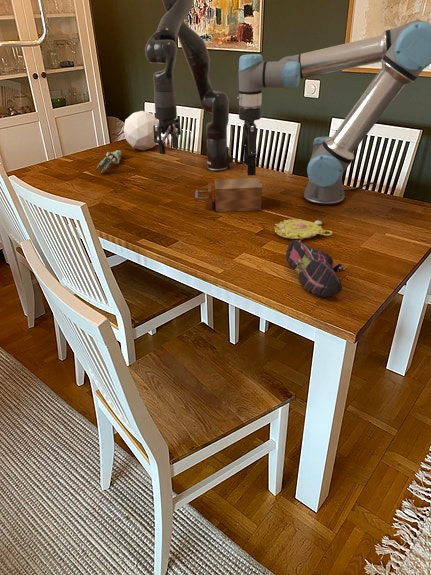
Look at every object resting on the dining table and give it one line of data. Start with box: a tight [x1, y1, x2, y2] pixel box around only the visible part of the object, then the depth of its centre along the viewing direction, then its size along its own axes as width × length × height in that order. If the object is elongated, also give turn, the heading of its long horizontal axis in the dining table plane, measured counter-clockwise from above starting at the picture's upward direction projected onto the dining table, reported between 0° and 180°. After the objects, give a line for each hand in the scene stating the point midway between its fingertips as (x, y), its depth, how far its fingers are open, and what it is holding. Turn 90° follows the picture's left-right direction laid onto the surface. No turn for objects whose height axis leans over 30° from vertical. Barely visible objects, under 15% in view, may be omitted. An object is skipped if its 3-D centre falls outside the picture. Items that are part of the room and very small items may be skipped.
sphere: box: [123, 110, 159, 151], centre depth 233 cm, size 19×20×20 cm
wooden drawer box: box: [214, 177, 263, 213], centre depth 165 cm, size 17×10×9 cm, turn 92°
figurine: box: [96, 150, 123, 174], centre depth 213 cm, size 7×8×30 cm
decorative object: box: [273, 218, 333, 242], centre depth 145 cm, size 21×2×20 cm
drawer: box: [194, 182, 213, 210], centre depth 165 cm, size 20×9×7 cm, turn 92°
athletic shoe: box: [285, 239, 346, 298], centre depth 119 cm, size 11×22×12 cm
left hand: (168, 150), depth 164 cm, fingers open, 8 cm apart
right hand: (249, 169), depth 159 cm, fingers open, 13 cm apart
